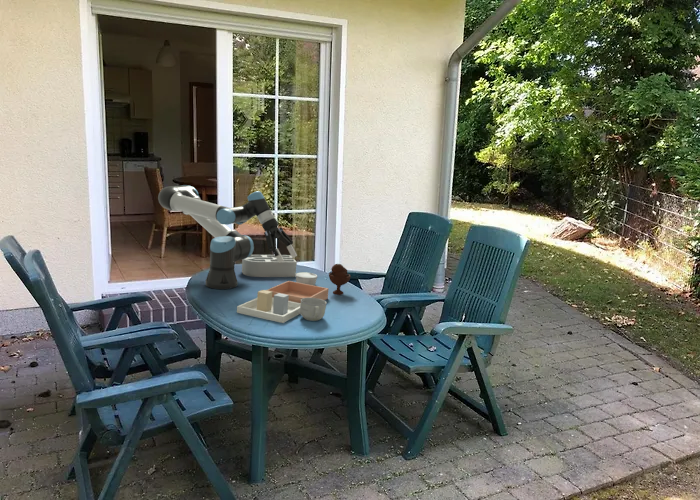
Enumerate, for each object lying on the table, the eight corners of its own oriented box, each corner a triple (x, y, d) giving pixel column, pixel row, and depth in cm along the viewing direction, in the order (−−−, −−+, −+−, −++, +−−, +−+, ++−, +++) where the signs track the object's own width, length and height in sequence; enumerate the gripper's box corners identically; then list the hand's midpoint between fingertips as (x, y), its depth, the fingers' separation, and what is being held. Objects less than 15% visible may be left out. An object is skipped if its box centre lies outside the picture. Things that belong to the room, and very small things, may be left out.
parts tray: (236, 313, 225) (237, 306, 224) (262, 301, 243) (262, 295, 243) (283, 323, 217) (283, 316, 216) (305, 311, 235) (306, 304, 235)
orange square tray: (264, 301, 245) (265, 290, 244) (287, 290, 264) (288, 280, 263) (307, 310, 237) (307, 299, 236) (327, 298, 257) (328, 288, 256)
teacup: (299, 313, 231) (300, 296, 229) (324, 315, 232) (326, 297, 230) (299, 325, 217) (300, 305, 216) (326, 326, 218) (327, 307, 217)
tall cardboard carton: (256, 309, 231) (257, 291, 229) (261, 307, 234) (262, 289, 233) (266, 311, 229) (267, 293, 227) (271, 309, 232) (272, 291, 231)
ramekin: (321, 285, 278) (321, 276, 277) (305, 288, 270) (305, 278, 269) (306, 280, 286) (307, 271, 285) (290, 283, 278) (291, 273, 277)
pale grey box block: (272, 313, 228) (274, 295, 226) (277, 311, 231) (278, 293, 230) (282, 315, 226) (284, 297, 224) (287, 313, 230) (288, 295, 228)
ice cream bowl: (346, 297, 261) (349, 267, 258) (324, 294, 263) (326, 264, 260) (351, 292, 271) (353, 263, 268) (329, 289, 273) (331, 260, 270)
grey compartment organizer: (296, 277, 291) (297, 262, 290) (243, 277, 282) (244, 261, 280) (289, 270, 307) (290, 255, 305) (239, 270, 297) (240, 254, 296)
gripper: (260, 220, 251) (281, 260, 250) (286, 215, 274) (305, 251, 273) (248, 227, 254) (269, 267, 253) (275, 222, 277) (294, 258, 276)
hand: (288, 259), depth 263 cm, fingers open, 13 cm apart
